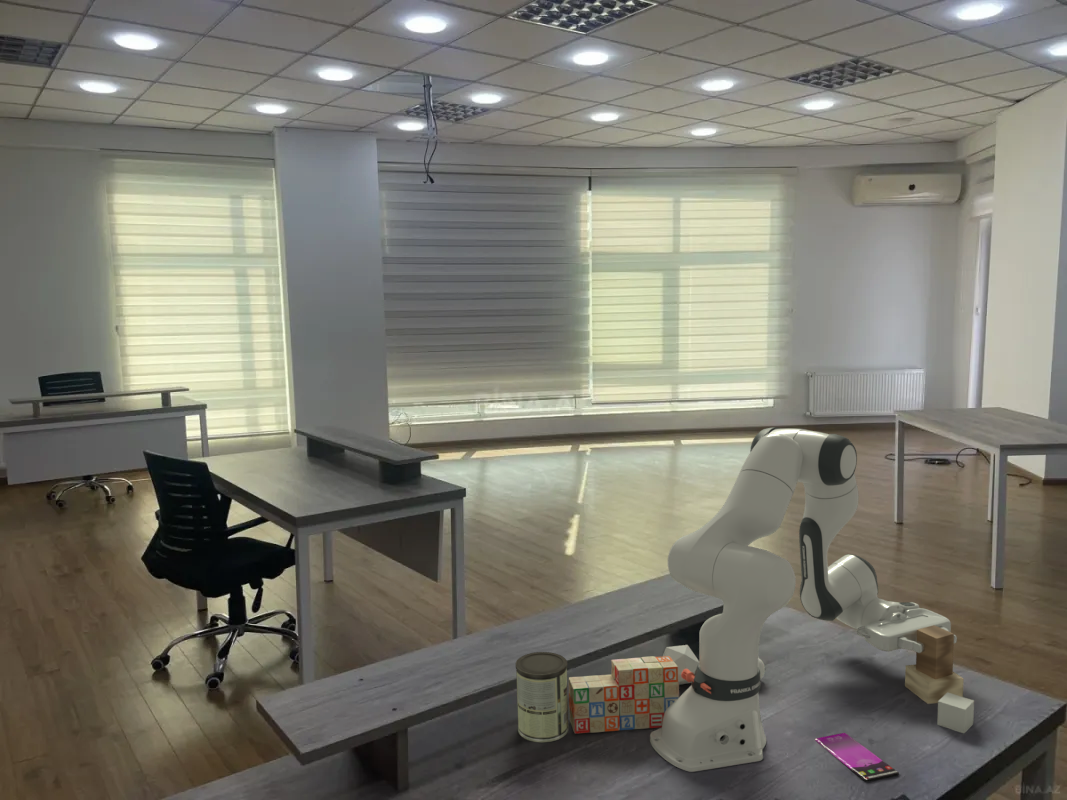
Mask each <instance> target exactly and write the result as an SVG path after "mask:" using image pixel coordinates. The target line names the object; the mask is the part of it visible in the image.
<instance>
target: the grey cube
mask: <svg viewBox="0 0 1067 800" xmlns="http://www.w3.org/2000/svg"><path fill="white" fill-rule="evenodd" d="M974 712H975V700H974V699H970V698H967V697H965V696H963V697H961V696H958V695H954V694H951V693H948V692H947V693H946V694H945V695H944V696H943V697H942V698H941V699H940V700H939V701H938V703H937V720H936V721H937V723H936V724H937V726H941V727H943V728H947V729H949V730H952V731H955V732H958V733H961V734H965V733H966V732H967V731H968V730H970V728H971V727H972V726H973V725H974V718H975V717H974V715H975V713H974Z"/></svg>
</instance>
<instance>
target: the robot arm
mask: <svg viewBox="0 0 1067 800" xmlns="http://www.w3.org/2000/svg"><path fill="white" fill-rule="evenodd" d="M857 454H858V453H857V450H856V447H855V445H854V444H853V443H852V441H851V440H850V439H849V438H848V437H846V436H844V435H843V436H842V435H840V434H836V433H829V434H828V433H825V432H821V431H815V430H814V431H813V430H809V429H805V428H794V427H793V428H790V427H789V428H788V427H787V428H780V427H777V426H775V427H769V428H768V427H767V428H763V429H761V430H760V431H759V432H757V434H756V435H755V436H754V437H753V439H752V442H751V444H750V452H749V453H748V456H747V458H746V459H745V461H744V462H743V465H742V466H741V469H740V471H739V473H738V475H737V478H736V480H735V482H734V483H733V486H732V488H731V490H730V492H729V495H728V497H727V498H726V500H725V502H724V503H723V505H722V507H721V508H720V509H719V511H718V512H717V513H716V514H715V515H714V516H713V517H712V518H711V519H710V520H708V522H706V523H705V524H704V525H703V526H701V527H700V528H698V529H696V530H695V531H693V532H690V533H688V534H686V535H683V536H681V537H679V538H677V540H676V541H675V542H674V543H673V545H672V546H671V547H670V550H669V552H668V556H667V569H668V572H669V575H670V577H671V579H672V580H673V581H674V582H676V583H677V584H679V585H681V586H683V587H684V588H686V589H688V590H691V591H692V592H695V593H698V594H703V595H704V596H709V597H713V598H715V599H719V600H721V601H722V603H723V604H722V605H723V608H722V609H723V610H722V613H718V614H716V615H713V616H710V617H709V618H707V619H706V620H705V621H704V623H703V624H702V626H701V627H700V628H699V629H700V630H699V632H698V633H699V639H698V640H699V642H698V643H699V645H698V646H699V648H698V650H699V652H698V653H699V656H698V658H699V659H698V660H699V664H698V666H697V668H696V671H695V674H694V673H693V672H690V670H688V669H684V670H683V672H681V673H682V674H681V677H682V678H683V679H685V680H686V681H687V682H692V683H690V684H691V685H690V686H689V687H688V688H687V689H686V690H685V691H684V692H683V693H682V694H681V695H679V698H678V699H677V700H676V701H675V702H674V703H673V704H672V705H670V706H669V707H668V708H667V709H666V711H665V713H664V717H663V723H662V727H661V728H657V729H656V730H654V731H651V732H650V735H649V742H650V745H651V747H652V748H653V750H655V752H656V753H657V754H659V755H660V757H662V758H663V759H664V760H666V762H668V763H669V764H671V765H673V766H674V767H677V768H678V769H681V770H683V771H685V772H689V773H694V772H700V771H707V770H713V769H718V768H725V767H731V766H736V765H742V764H748V763H756V762H760V761H762V760H763V759H764V753H763V750H764V748H765V746H766V744H767V737H766V734H765V730H764V727H763V726H764V725H763V721H762V716H761V715H762V714H761V710H760V709H761V708H760V699H759V697H760V696H759V692H760V691H761V679H760V669H759V668H758V658H759V652H760V651H759V648H760V637H761V633H762V629H763V628H764V624H765V623H766V621H767V620H768V618H769V617H771V615H773V614H774V613H775V612H777V611H779V610H781V609H783V608H785V606H786V605H787V604H788V603H790V600H792V598H793V595H794V593H795V590H796V581H797V579H796V574H795V570H794V568H793V565H792V564H791V563H790V561H789V560H788V559H786V558H784V557H782V556H780V555H777V554H776V553H774V552H771V551H769V550H766V549H763V548H759V547H755V546H754V547H753V546H750V544H752V543H754V542H755V541H757V540H759V539H762V538H765V537H769V536H771V535H773V534H774V533H776V532H777V531H778V529H779V528H780V527H781V525H782V523H783V521H784V518H785V516H786V513H787V511H788V508H789V505H790V503H791V501H792V498H793V496H794V493H795V490H796V488H797V484H798V483H802V485H803V488H804V496H805V497H804V500H805V501H804V503H805V504H804V511H803V514H802V515H803V516H802V519H801V522H800V525H799V529H798V530H799V531H798V533H799V534H798V535H799V536H798V538H799V539H798V540H799V553H800V554H799V558H800V572H801V573H800V574H801V581H800V586H799V587H800V588H799V598H800V599H799V600H800V603H801V605H802V608H803V609H804V610H805V612H806V613H807V614H808V615H809V616H811V617H812V618H814V619H816V620H817V619H818V620H820V621H828V622H832V621H835V619H836V620H838V621H839V622H841V623H842V624H845V625H847V626H848V627H851V628H853V629H855V630H856V633H857V635H859V636H860V637H863V638H864V641H865V642H867V644H869V645H871V646H873V647H874V648H876V649H878V650H880V651H882V652H888V653H889V652H892V651H896V650H901V649H902V650H907V651H914V652H915V653H916V652H918V653H921V652H924V651H925V644H924V643H921V642H919V641H917V630H918V629H922V628H925V627H929V626H933V625H935V626H937V627H940V628H942V629H944V630H946V631H949V632H951V630H952V629H951V628H952V622H951V621H950V619H949V618H948V617H946V616H944V615H942V614H939V613H937V612H935V611H932V610H929V609H926V608H923V607H922V608H921V607H920V605H919V604H918V603H915V602H913V601H910V602H908V601H906V602H904V601H903V602H897V601H892V600H889V601H888V600H885V599H882V598H879V597H878V594H879V583H878V575H877V572H876V570H875V568H874V566H873V565H872V564H871V563H870V562H869V561H867V559H865V558H863V557H861V556H859V555H856V554H853V553H847V554H845V555H842V557H840V558H839V559H837V560H835V561H834V562H832V563H831V564H830V565H829V564H828V553H829V549H830V546H831V544H832V543H833V540H835V537H836V536H837V535H838V533H840V531H841V530H843V528H844V527H845V526H846V525H847V524H848V522H850V520H852V518H853V517H854V515H855V514H856V512H857V509H858V507H859V497H860V496H859V488H858V484H857V483H858V482H857V479H856V473H855V471H856V468H857V463H858V455H857ZM951 633H952V632H951ZM957 640H958V637H957V635H956V634H954V644H956V643H957Z"/></svg>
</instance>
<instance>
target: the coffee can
mask: <svg viewBox="0 0 1067 800" xmlns="http://www.w3.org/2000/svg"><path fill="white" fill-rule="evenodd" d="M567 668H568V660H567V659H566V658H565V656H563V655H561V654H558V653H556V652H552V651H551V652H550V651H536V652H529V653H526V654H525V655H522V656H520V657H519V658H517V659H516V662H515V670H516V696H517V697H516V698H517V702H516V703H517V731H518V732H517V733H518V734H519V735H520V736H521V738H523V739H524V740H527V741H529V742H534V743H550V742H551V743H552V742H555V741H558V740H560V739H562V738H564V737H565V736H566V735H567V734H568V732H569V727H570V726H569V712H568V711H569V708H568V707H569V701H568V673H567V672H568V670H567Z"/></svg>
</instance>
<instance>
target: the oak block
mask: <svg viewBox="0 0 1067 800" xmlns="http://www.w3.org/2000/svg"><path fill="white" fill-rule="evenodd" d="M904 676H905V678H904V679H905V681H904V686H905V688H906V689H908V690H909V691H911V693H913V694H914V695H915V696H917V697H918V698H920V699H921V700H922V701H924V702H925V703H926V704H927V705H930V704H932V705H933V704H938V701H939V700H940V699H941V698H942V697H943V696H944V695H945V694H946V693H947V692H948V693H951V694H954V695H958V696H961V697H964V678H963V677H962V676H961V675H959V674H957V673H956V672H955V671H953V674H952V675H948V676H945V677H942V678H938V679H934V678H932V677H930V676H928V675H926V674H924V673H922V672H920V671H918V670H916V663H915V664H908V665H905V675H904Z"/></svg>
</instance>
